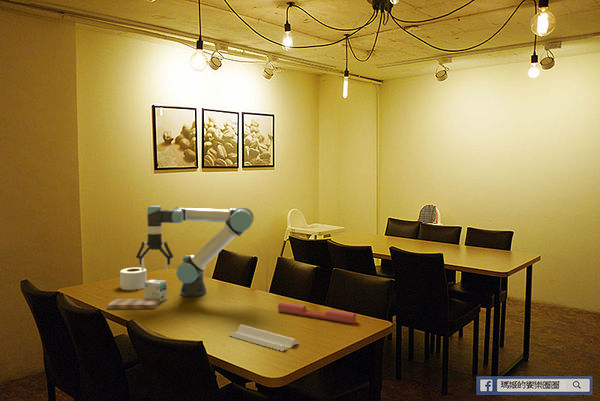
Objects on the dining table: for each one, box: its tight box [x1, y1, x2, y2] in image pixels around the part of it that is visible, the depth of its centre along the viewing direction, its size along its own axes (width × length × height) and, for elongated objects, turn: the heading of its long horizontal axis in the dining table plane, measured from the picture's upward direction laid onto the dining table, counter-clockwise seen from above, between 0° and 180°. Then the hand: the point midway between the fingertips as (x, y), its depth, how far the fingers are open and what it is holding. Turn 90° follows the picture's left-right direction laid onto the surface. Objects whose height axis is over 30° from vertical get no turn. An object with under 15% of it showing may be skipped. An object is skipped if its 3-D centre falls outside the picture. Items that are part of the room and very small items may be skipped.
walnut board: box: [107, 298, 161, 310], centre depth 263 cm, size 25×11×2 cm, turn 92°
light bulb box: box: [143, 279, 168, 303], centre depth 275 cm, size 11×7×11 cm, turn 71°
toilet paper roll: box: [119, 266, 148, 291], centre depth 303 cm, size 16×15×11 cm
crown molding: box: [227, 324, 300, 352], centre depth 215 cm, size 31×12×4 cm, turn 54°
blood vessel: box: [277, 301, 357, 325], centre depth 247 cm, size 42×5×5 cm, turn 63°
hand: (154, 270), depth 274 cm, fingers open, 13 cm apart
